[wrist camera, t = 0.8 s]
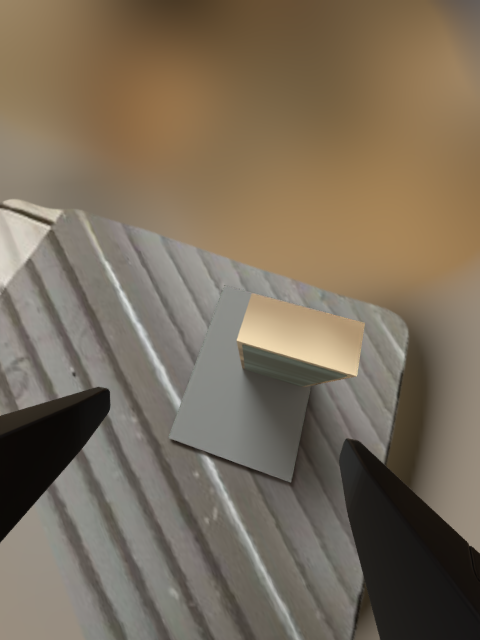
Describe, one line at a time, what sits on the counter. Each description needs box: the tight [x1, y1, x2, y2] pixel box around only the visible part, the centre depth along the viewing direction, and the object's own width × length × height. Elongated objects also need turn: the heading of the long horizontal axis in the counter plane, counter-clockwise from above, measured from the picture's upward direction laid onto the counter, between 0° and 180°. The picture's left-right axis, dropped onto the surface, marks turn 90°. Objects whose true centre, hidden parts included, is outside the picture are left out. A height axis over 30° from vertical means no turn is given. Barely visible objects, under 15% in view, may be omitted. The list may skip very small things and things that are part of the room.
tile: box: [237, 293, 365, 387], centre depth 18 cm, size 3×6×12 cm, turn 73°
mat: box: [168, 285, 326, 483], centre depth 24 cm, size 17×12×1 cm
